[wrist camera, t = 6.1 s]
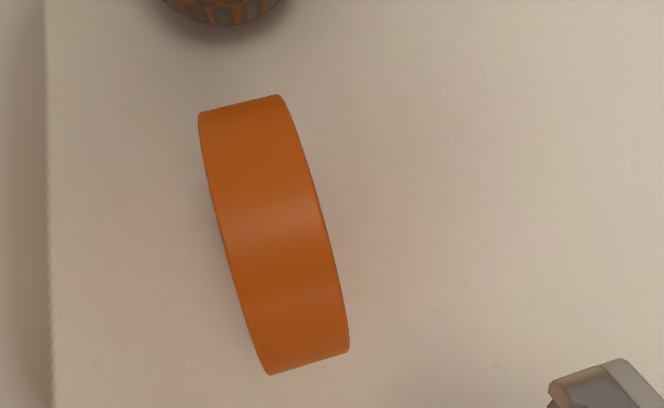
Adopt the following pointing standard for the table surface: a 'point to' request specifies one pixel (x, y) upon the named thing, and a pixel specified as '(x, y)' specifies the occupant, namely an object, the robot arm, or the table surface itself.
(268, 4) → the vase
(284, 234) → the disc
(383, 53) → the table surface
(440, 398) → the table surface
